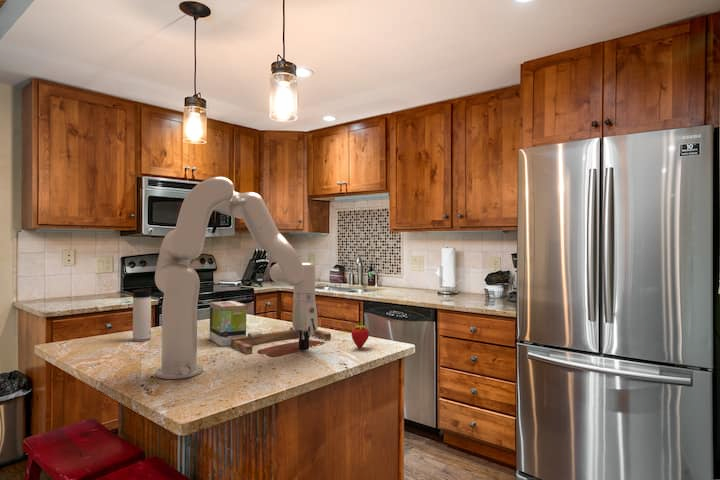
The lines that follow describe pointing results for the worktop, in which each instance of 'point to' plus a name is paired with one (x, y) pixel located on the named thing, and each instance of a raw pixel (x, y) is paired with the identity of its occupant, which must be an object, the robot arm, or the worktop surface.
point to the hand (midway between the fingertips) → (303, 349)
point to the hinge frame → (269, 338)
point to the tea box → (227, 321)
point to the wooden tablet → (285, 348)
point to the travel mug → (142, 314)
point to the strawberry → (360, 335)
